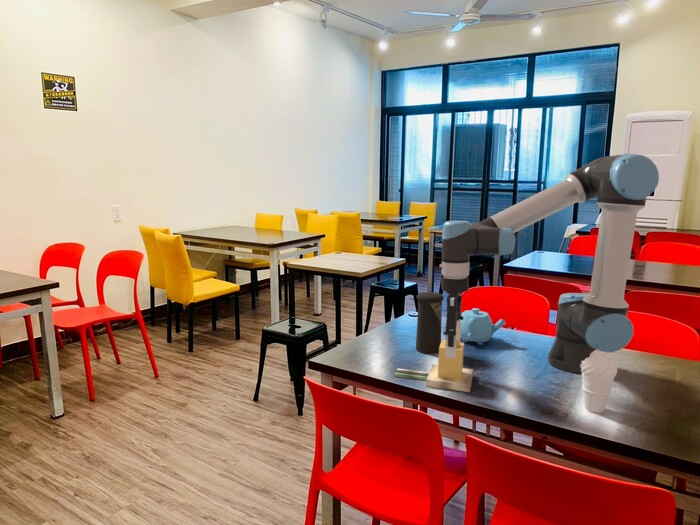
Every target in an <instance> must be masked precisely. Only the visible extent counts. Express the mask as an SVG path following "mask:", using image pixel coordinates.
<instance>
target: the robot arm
mask: <svg viewBox="0 0 700 525" xmlns="http://www.w3.org/2000/svg"><path fill="white" fill-rule="evenodd" d="M659 180H660V173H659V169H658V166H657V165H656V163H654V161H652V159H651V158H650V157H647V156H646V155H642V154H637V153H625V154H619V155H618V154H616V155H608V156H607V155H606V156H603V157H599V158H597V159H595V160H592V161H591V162H589V163H587V164H585V165H583V166H582V167H579V168H578V169H575V170H573V171H572V172H570V173H568V174H567V175H566V176H565V178H564V180H562V181H559V182H558V183H555V184H554V185H551V186H549V187H548V188H546V189H544V190H541V191H540V192H537V193H534V195H531V196H529V197H527V198H525V199H524V200H521V201H520V202H518V203H516V204H513V205H511V206H509V207H508V208H505V209H503V210H501V211H499V212H497V213H495V214H493V215H491V216H489V217H488V218H485V219H483V220H481V221H479V222H478V221H476V222H473V223H471V222H470V221H468V220H448V221H445V222H444V223H443V225H442V234H441V263H440V264H439V268H441V275H442V277H441V281H440V282H441V283H440V285H441V287H440V288H441V290H442V291H444V292H448V293H449V294H448V295H447V297H446V321H445V322H446V323H445V331H443V335H444V336H445V339H446V357H448V358H456V340H459V341H460V342H461V338H460V336H461V321H460V320H463V316H461V315H462V313H463V312H462V305H463V303H462V302H463V296H462V293H465V292H467V291H469V283H470V279H469V275H470V256H500V257H501V256H504V255H511V254H512V253H513V252H514V250H515V248H516V247H515V246H516V235H515V233H517V232H519V231H521V230H523V229H525V228H526V227H529V226H532V225H533V224H535V223H537V222H539V221H541V220H543V219H546V218H547V217H550V216H552V215H554V214H556V213H558V212H559V211H561V210H564V209H566V208H568V207H570V206H572V205H574V204H576V203H578V204H584V203H586V202H588V201H590V200H593V199H597V200H596V205H598V207H599V208H600V210H601V214H600V220H599V221H600V222H599V228H598V234H597V241H596V246H595V254H594V261H593V268H592V275H591V281H590V286H589V288H590V289H589V293H584V292H583V293H582V292H579V293H578V292H566V293H562V294H560V296H559V299H558V302H557V308H558V309H557V318H556V319H557V320H556V322H557V323H556V334H555V339H554V342H553V344H552V346H551V348H550V351H549V353H548V355H547V356H548V357H547V362H548V364H550V365H551V366H552V367H554V368H556V369H559V370H563V371H566V372H570V373H577V374H582V372H581V369H582V368H581V367H580V365H581V364H582V363H581V362H582V361H583V360H585V359H586V358H588V357H590V354H591V353H592V352H593V351H595V350H597V349H598V350H599V351H600V352H601V353H602V352H604V353H615V352H617V351H620V350H622V349H623V348H624V347H626V346H627V345H628V344H629V343H630V342H631V340H632V339H633V336H634V325H633V323H632V321H631V320H630V319H629V318H628V312H629V306H630V305H629V304H628V302H627V301H626V300H625V293H626V292H625V291H626V285H627V280H628V272H629V267H630V260H631V254H632V248H633V242H634V237H635V236H634V235H635V230H636V223H637V216H638V213H639V212H640V211H641V210H642V209H644V208H645V207H646V202H647V198H648V197H649V196H651V194H652V193H653V192H655V191H656V189H657V188H658V185H659ZM461 312H462V313H461Z"/></svg>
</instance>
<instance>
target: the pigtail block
mask: <svg viewBox="0 0 700 525" xmlns="http://www.w3.org/2000/svg"><path fill="white" fill-rule="evenodd" d="M473 373H474V369H473V368H472V369H471V368H464V367H463V372H462V376H461V380H456V379H448V378H441V377H438V364H431V367H430V369H429V371H428V372H427V371H419V370H413V369H405V368H396V370H395V372H394V375H393V376H394V377H396V378H404V379H405V378H406V379H411V380H412V379H413V380H420V381H425V386H426V387H430V388H435V389H442V390H451V391H459V392H465V393H470V392H471V387H472V380H473V377H474V376H473Z"/></svg>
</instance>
